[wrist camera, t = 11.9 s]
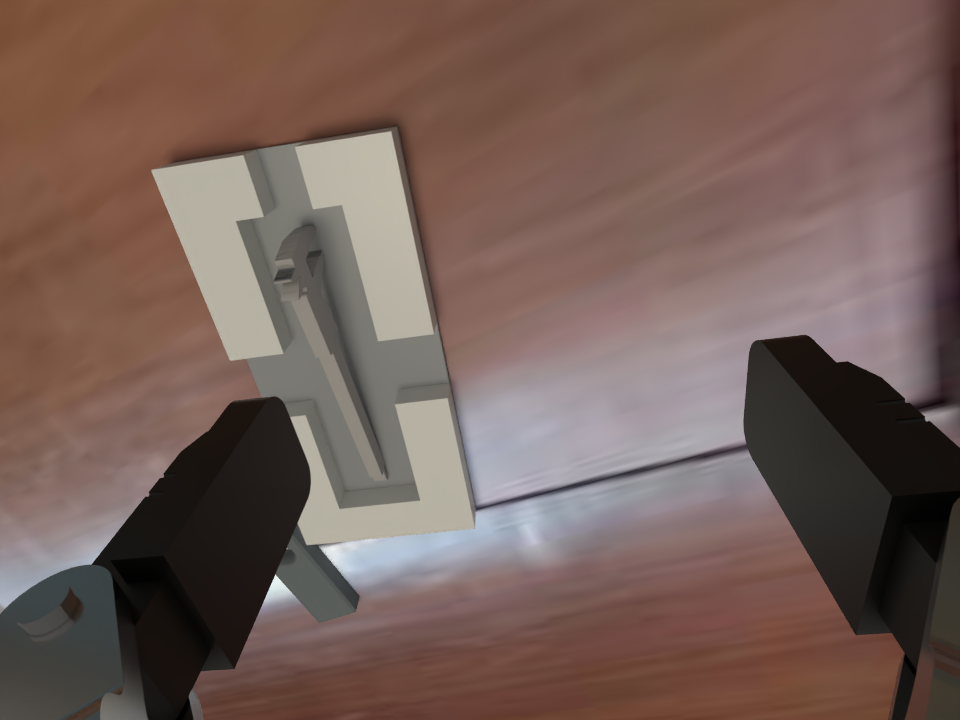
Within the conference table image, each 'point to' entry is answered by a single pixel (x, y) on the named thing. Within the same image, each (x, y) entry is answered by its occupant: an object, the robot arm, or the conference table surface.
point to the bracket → (315, 580)
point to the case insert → (355, 310)
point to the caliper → (324, 337)
